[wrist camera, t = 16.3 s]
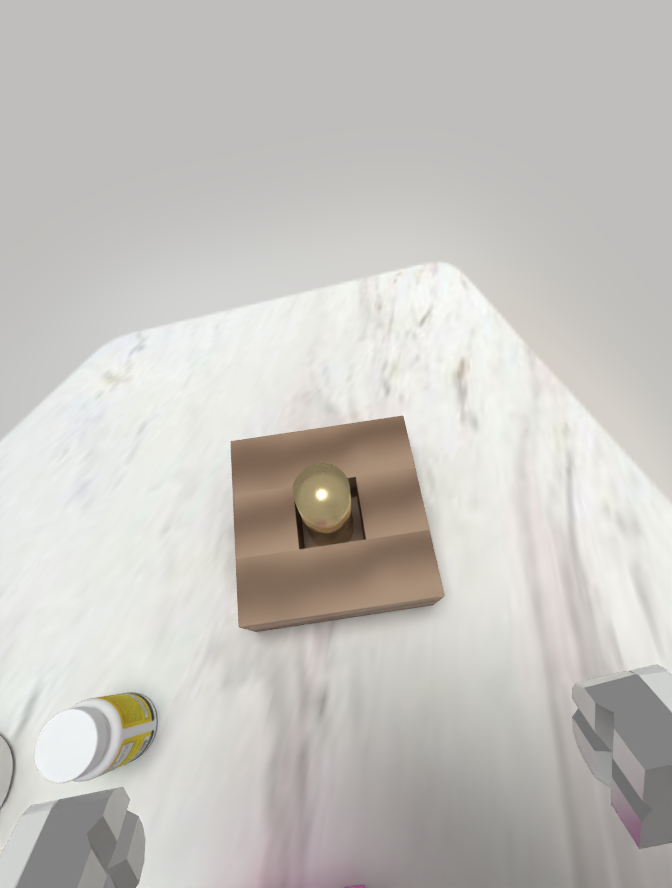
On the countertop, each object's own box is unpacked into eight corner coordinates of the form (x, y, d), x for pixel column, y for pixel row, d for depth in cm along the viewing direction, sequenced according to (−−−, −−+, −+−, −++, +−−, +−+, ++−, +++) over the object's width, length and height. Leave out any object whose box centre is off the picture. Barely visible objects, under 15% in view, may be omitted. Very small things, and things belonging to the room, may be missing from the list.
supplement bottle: (103, 693, 37) (37, 702, 30) (161, 690, 37) (109, 698, 30) (93, 764, 35) (19, 793, 28) (154, 761, 35) (96, 789, 28)
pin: (356, 546, 40) (354, 512, 31) (311, 553, 40) (295, 521, 31) (349, 502, 42) (345, 459, 33) (306, 509, 42) (289, 467, 33)
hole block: (433, 604, 39) (444, 595, 33) (256, 631, 39) (238, 627, 33) (398, 445, 45) (403, 415, 40) (246, 467, 45) (230, 441, 40)
